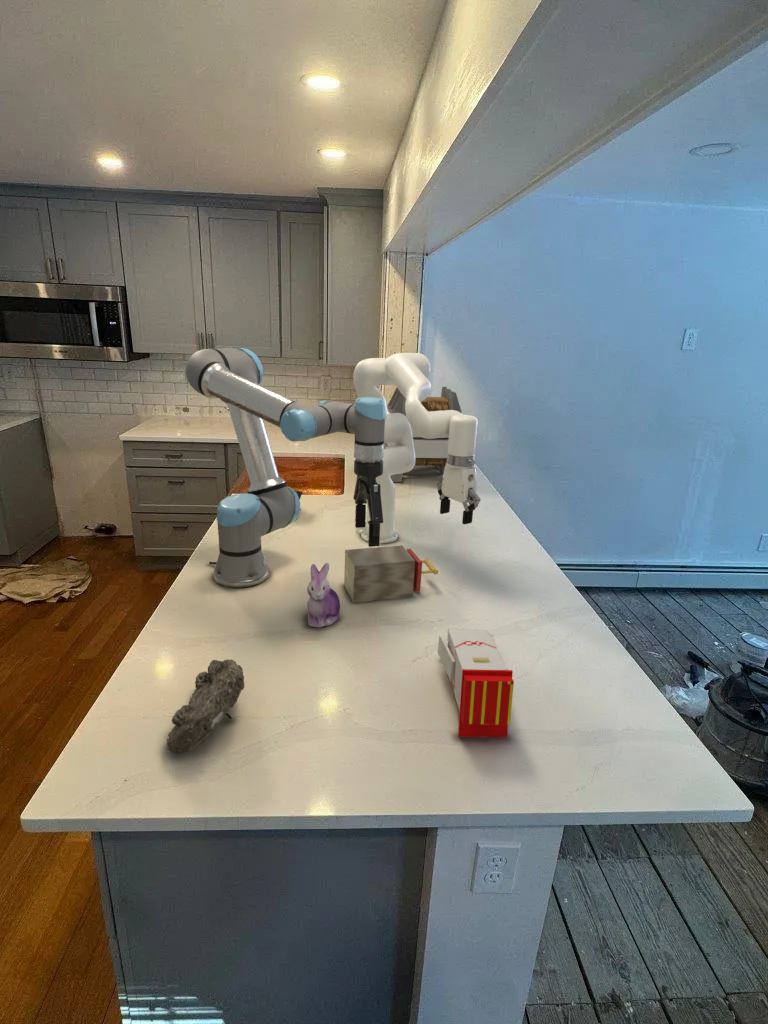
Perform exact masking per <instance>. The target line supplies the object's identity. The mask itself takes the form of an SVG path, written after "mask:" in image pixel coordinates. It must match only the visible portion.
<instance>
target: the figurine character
mask: <svg viewBox="0 0 768 1024" xmlns="http://www.w3.org/2000/svg"><path fill="white" fill-rule="evenodd" d="M293 491H294V492H296V493H297V495H298V497H299V501H300V500H301V497H302V495H303V491H302V490H301V491H299V490H293ZM300 511H302V509H301V508H300Z"/></svg>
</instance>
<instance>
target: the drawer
mask: <svg viewBox="0 0 768 1024" xmlns="http://www.w3.org/2000/svg"><path fill="white" fill-rule="evenodd" d="M406 550H407V552H408V553H409V554H410V555H411V556H412V558H413V559H414V560H415V568H414V583H413V590H414V591H415V592H416V593H418V592H421V586H422V585H421V584H422V575H425V574H433V575H438V574H439V569H438V568H437V567H436V566H435V565H434V564H433V563H432V562H431V561H430V559H429V558H427V557H424V558H423V559H422V560H421V559H420V558H419V556H418V555H417V554H416V553H415V552H414V551H413V550H412V548H406ZM423 564H425V566H426V567H427V568H428V569H429V570H423Z"/></svg>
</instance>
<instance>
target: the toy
mask: <svg viewBox="0 0 768 1024" xmlns="http://www.w3.org/2000/svg"><path fill="white" fill-rule="evenodd" d="M446 640H447V643H446V641H445V639H444V636H443V635H442V634H439V637H438V646H437V656H438V657H439V659H440V661H441V663H442V666H443V668H444V670H445V672H446V674H447V677H448V679H449V681H450V684H451V687H452V690H453V693H454V697H455V701H456V705H457V708H458V711H459V714H458V715H459V716H458V730H457V731H458V732H457V737H458V738H508V731H509V726H510V725H511V717H512V707H513V697H514V696H513V695H514V684H515V680H514V679H513V673H514V671H513V670H512V669H508V667H507V665H506V662H505V661H504V659H503V658H502V655H501V653H500V651H499V649H498V647H497V643H496V639H495V637H494V635H493V634H491V632H490V631H489V629H467V628H466V629H465V628H463V629H461V628H460V629H459V628H448V630H447V639H446Z"/></svg>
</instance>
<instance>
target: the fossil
mask: <svg viewBox="0 0 768 1024" xmlns="http://www.w3.org/2000/svg"><path fill="white" fill-rule="evenodd" d="M243 670H244V669H243V667H242V665H240V664H237V662H236V661H235V660H234V659H232V658H231V659H227V658H226V659H224V660H223V661H222V660H217V659H212V660H211V661H210V663H209V665H208V666H207V671H201V672H199V673H198V674H197V675H196V676H195V680H194V684H195V685H194V687H195V689H194V690H193V693H192V694H191V697H190V698H189V700H188V704H184V705H182V706H181V707H180V709H177V710H176V711H175V713H174V715H173V716H172V718H171V723H172V724H173V727H172V730H171V731H170V732H168V734H167V738H166V741H167V742H166V745H167V749H168V750H169V751H173V752H174V753H176V754H178V753H182V752H188V751H189V752H192V751H193V750H195V748H196V747H197V746H199V744H200V743H201V742H203V741H204V740H205V739H206V738H207V737H208V736H209V735H210V734H211V733H212V732H214V730H215V729H217V727H218V726H219V724H220V722H221V721H222V720H223V719H224V718H225V716H226V717H227V719H229V720H233V717H232V715H230V714H229V710H230V709H231V708H234V706H235V704H236V703H237V702H238V699H239V697H240V695H241V693H242V691H243V690H245V689H244V688H245V675H244V671H243Z"/></svg>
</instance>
